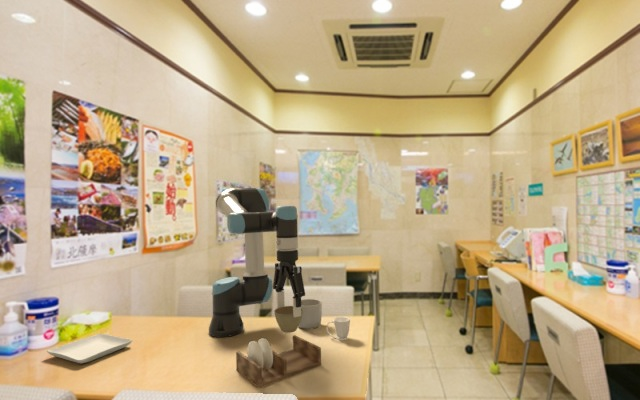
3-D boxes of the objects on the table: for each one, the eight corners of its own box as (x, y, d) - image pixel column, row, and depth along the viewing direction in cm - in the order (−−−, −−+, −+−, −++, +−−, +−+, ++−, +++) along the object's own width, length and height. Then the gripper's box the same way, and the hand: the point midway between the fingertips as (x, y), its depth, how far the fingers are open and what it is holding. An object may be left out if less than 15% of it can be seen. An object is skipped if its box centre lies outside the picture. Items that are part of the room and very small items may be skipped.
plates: (247, 367, 119) (247, 337, 120) (258, 363, 122) (258, 334, 122) (261, 378, 112) (261, 346, 112) (273, 374, 114) (272, 342, 114)
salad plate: (134, 347, 144) (134, 338, 144) (80, 369, 124) (80, 359, 125) (100, 340, 153) (100, 332, 153) (45, 360, 133) (45, 350, 133)
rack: (236, 369, 120) (236, 351, 120) (295, 351, 135) (294, 335, 135) (259, 387, 108) (258, 367, 108) (321, 365, 122) (320, 347, 122)
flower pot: (289, 323, 131) (289, 304, 131) (308, 330, 125) (308, 309, 125) (268, 330, 124) (268, 310, 124) (287, 338, 117) (287, 316, 117)
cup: (349, 342, 143) (349, 321, 143) (325, 341, 144) (325, 321, 145) (351, 335, 150) (351, 316, 150) (328, 335, 151) (327, 316, 152)
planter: (322, 330, 157) (321, 305, 158) (294, 331, 157) (293, 306, 158) (322, 321, 170) (321, 298, 170) (296, 322, 170) (296, 299, 170)
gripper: (262, 248, 132) (263, 308, 131) (296, 253, 114) (297, 323, 113) (279, 246, 136) (281, 304, 136) (314, 251, 118) (316, 318, 118)
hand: (288, 313), depth 124 cm, fingers closed on flower pot, 10 cm apart
